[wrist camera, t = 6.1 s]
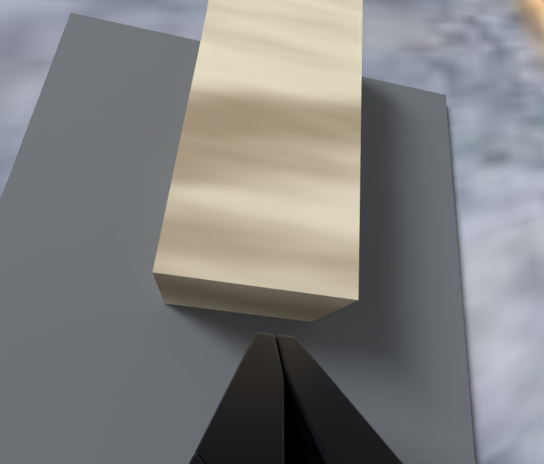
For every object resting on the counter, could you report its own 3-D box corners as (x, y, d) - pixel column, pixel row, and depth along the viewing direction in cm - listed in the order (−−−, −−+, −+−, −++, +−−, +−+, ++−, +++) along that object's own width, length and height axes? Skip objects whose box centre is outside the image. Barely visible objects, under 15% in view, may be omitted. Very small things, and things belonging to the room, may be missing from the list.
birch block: (358, 299, 12) (362, -27, 17) (152, 272, 11) (222, -63, 16) (311, 321, 16) (326, 60, 21) (164, 303, 16) (215, 35, 21)
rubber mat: (485, 724, 13) (497, 739, 13) (-191, 742, 11) (-212, 762, 10) (439, 101, 23) (445, 95, 22) (74, 23, 20) (70, 12, 19)
